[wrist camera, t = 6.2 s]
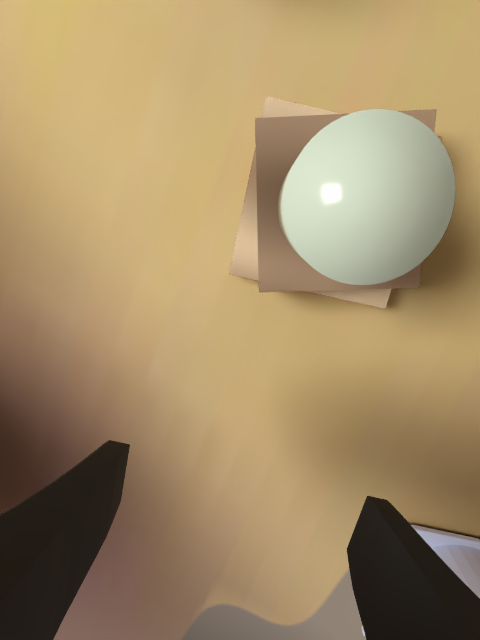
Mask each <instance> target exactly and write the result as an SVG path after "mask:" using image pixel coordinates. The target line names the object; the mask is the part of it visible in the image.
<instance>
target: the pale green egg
mask: <svg viewBox="0 0 480 640" xmlns="http://www.w3.org/2000/svg"><path fill="white" fill-rule="evenodd" d="M455 192H456V188H455V176H454V170H453V166H452V163H451V160H450V157H449V155H448V153H447V151H446V149H445V147H444V145H443V144H442V142H441V141H440V139H439V138H438V137H437V136H436V134H435V133H434V132H433V131H432V130H431V129H430V128H429V127H427V126H426V125H425V124H423V123H422V122H421V121H419V120H417V119H415V118H414V117H412V116H410V115H407V114H404V113H402V112H398V111H393V110H387V109H370V110H363V111H358V112H354V113H351V114H348V115H346V116H343V117H341V118H339V119H337V120H335V121H333V122H331V123H330V124H329V125H327V126H326V127H324V128H323V129H321V130H320V131H319V132H318V133H317V134H316V135H315V136H314V137H313V138H312V139H311V140H310V141H309V142H308V144H307V145H306V146H305V147H304V148H303V150H302V151H301V153H300V155H299V156H298V158H297V159H296V161H295V162H294V164H293V165H292V167H291V168H290V170H289V171H288V173H287V175H286V176H285V178H284V180H283V182H282V185H281V188H280V191H279V196H278V203H277V215H278V221H279V225H280V229H281V231H282V234H283V236H284V238H285V240H286V241H287V243H288V244H289V245H290V247H291V248H292V249H293V250H294V251H295V252H296V253H297V254H298V255H299V256H300V257H301V258H303V259H304V260H305V261H306V262H307V263H308V264H309V265H310V266H311V267H313V268H314V269H315V270H317V271H318V272H319V273H321V274H322V275H324V276H326V277H328V278H330V279H333V280H335V281H338V282H341V283H346V284H351V285H373V284H379V283H383V282H387V281H390V280H393V279H395V278H397V277H400V276H402V275H404V274H405V273H407V272H409V271H410V270H412V269H414V268H415V267H416V266H417V265H419V264H420V263H421V262H422V261H423V260H424V259H425V258H426V257H428V256H429V255H430V253H431V252H432V251H433V250H434V248H435V247H436V246H437V245H438V243H439V241H440V240H441V238H442V237H443V235H444V233H445V231H446V229H447V227H448V225H449V222H450V219H451V216H452V213H453V208H454V203H455Z"/></svg>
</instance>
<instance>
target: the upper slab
mask: <svg viewBox="0 0 480 640" xmlns="http://www.w3.org/2000/svg"><path fill="white" fill-rule="evenodd" d="M436 111H437V109H434V110H413V111H398V112H402V113H404V114H407V115H410V116H412V117H414V118H415V119H417V120H419V121H421V122H422V123H423V124H425V125H426V126H427V127H429V128H430V129H431V130H432V131H433V132H434V131H435V121H436ZM346 115H348V114H330V115H309V116H288V117H267V118H255V143H256V189H257V234H258V280H259V292H288V291H324V290H361V289H397V288H419V286H420V276H421V266H422V262H421V263H420V264H419V265H417V266H416V267H415V268H414V269H412V270H410V271H409V272H407V273H405V274H404V275H402V276H400V277H397V278H395V279H393V280H390V281H387V282H383V283H379V284H373V285H351V284H346V283H341V282H338V281H335V280H333V279H330V278H328V277H326V276H324V275H322V274H321V273H319V272H318V271H317V270H315V269H314V268H313V267H311V266H310V265H309V264H308V263H307V262H306V261H305V260H304V259H303V258H301V257H300V256H299V255H298V254H297V253H296V252H295V251H294V250H293V249H292V248H291V247H290V245H289V244H288V243H287V241H286V240H285V238H284V236H283V234H282V231H281V229H280V225H279V221H278V215H277V203H278V196H279V191H280V188H281V185H282V182H283V180H284V178H285V176H286V175H287V173H288V171H289V170H290V168H291V167H292V165H293V164H294V162H295V161H296V159H297V158H298V156H299V155H300V153H301V151H302V150H303V148H304V147H305V146H306V145H307V144H308V142H309V141H310V140H311V139H312V138H313V137H314V136H315V135H316V134H317V133H318V132H319V131H320V130H321V129H323V128H324V127H326V126H327V125H329V124H330V123H331V122H333V121H335V120H337V119H339V118H341V117H343V116H346Z"/></svg>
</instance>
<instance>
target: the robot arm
mask: <svg viewBox="0 0 480 640" xmlns="http://www.w3.org/2000/svg"><path fill="white" fill-rule="evenodd" d="M129 447H130V445H129V444H125V443H120V442H115V441H111V440H109V441H107V442H106V443H104V444H103V445H102V446H100V447H99V448H98V449H97V450H95V451H94V452H93V453H92V454H90V455H89V456H88V457H86V458H85V459H84V460H82V461H81V462H80V463H79V464H77V465H76V466H75V467H73V468H72V469H70V470H69V471H68V472H66V473H65V474H63V475H62V476H61V477H59V478H58V479H56V480H55V481H54V482H52V483H51V484H49V485H48V486H46V487H45V488H43V489H42V490H40V491H39V492H37V493H36V494H34V495H33V496H31V497H29V498H28V499H26V500H25V501H23V502H22V503H20V504H18V505H17V506H15V507H14V508H12V509H10V510H8V511H7V512H5V513H3V514H2V515H0V640H53V639H54V637H55V635H56V633H57V630H58V628H59V626H60V624H61V622H62V620H63V618H64V616H65V614H66V613H67V611H68V609H69V607H70V605H71V603H72V601H73V599H74V597H75V596H76V594H77V592H78V590H79V588H80V586H81V584H82V582H83V580H84V579H85V577H86V575H87V573H88V571H89V569H90V567H91V565H92V563H93V561H94V560H95V558H96V556H97V554H98V552H99V550H100V548H101V546H102V544H103V542H104V540H105V538H106V536H107V534H108V532H109V529H110V527H111V524H112V522H113V519H114V517H115V514H116V512H117V509H118V507H119V504H120V501H121V496H122V490H123V483H124V477H125V471H126V465H127V459H128V453H129ZM347 554H348V561H349V568H350V574H351V580H352V586H353V591H354V595H355V599H356V602H357V606H358V610H359V614H360V617H361V621H362V632H363V635H364V636H365V637H366V639H367V640H480V539H478V538H473V537H468V536H464V535H459V534H454V533H450V532H445V531H440V530H435V529H431V528H426V527H421V526H416V525H410V524H409V523H408V522H407V520H406V519H405V518H404V517H403V516H402V515H401V514H400V513H399V512H398V511H397V510H396V509H395V507H394V506H393V505H392V504H391V503H390V502H389V501H388V500H384V499H380V498H375V497H371V496H367V498H366V500H365V503H364V506H363V508H362V511H361V513H360V516H359V519H358V521H357V524H356V527H355V529H354V532H353V534H352V537H351V540H350V542H349V545H348V547H347Z"/></svg>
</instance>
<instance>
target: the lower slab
mask: <svg viewBox="0 0 480 640" xmlns="http://www.w3.org/2000/svg"><path fill="white" fill-rule="evenodd" d="M330 114H341V113H336V112H332V111H328V110H323V109H319V108H315V107H310V106H306V105H302V104H298V103H293V102H289V101H285V100H280V99H276V98H272V97H267V96H266V99H265V103H264V108H263V113H262V118H267V117H288V116H309V115H330ZM437 137H438V138H439V139H440V141H441V140H442V137H439V136H437ZM229 275H234V276H239V277H243V278H248V279H252V280H257V281H259V280H258V234H257V189H256V147H255V151H254V156H253V161H252V166H251V171H250V175H249V180H248V185H247V190H246V195H245V199H244V204H243V209H242V214H241V219H240V223H239V228H238V233H237V238H236V243H235V247H234V252H233V257H232V262H231V267H230V271H229ZM391 290H392V289H361V290H324V291H307V292H311V293H316V294H320V295H325V296H330V297H334V298H339V299H343V300H348V301H352V302H357V303H361V304H366V305H371V306H375V307H380V308H384V309H385V308H386V305H387V302H388V299H389V296H390V293H391Z"/></svg>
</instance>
